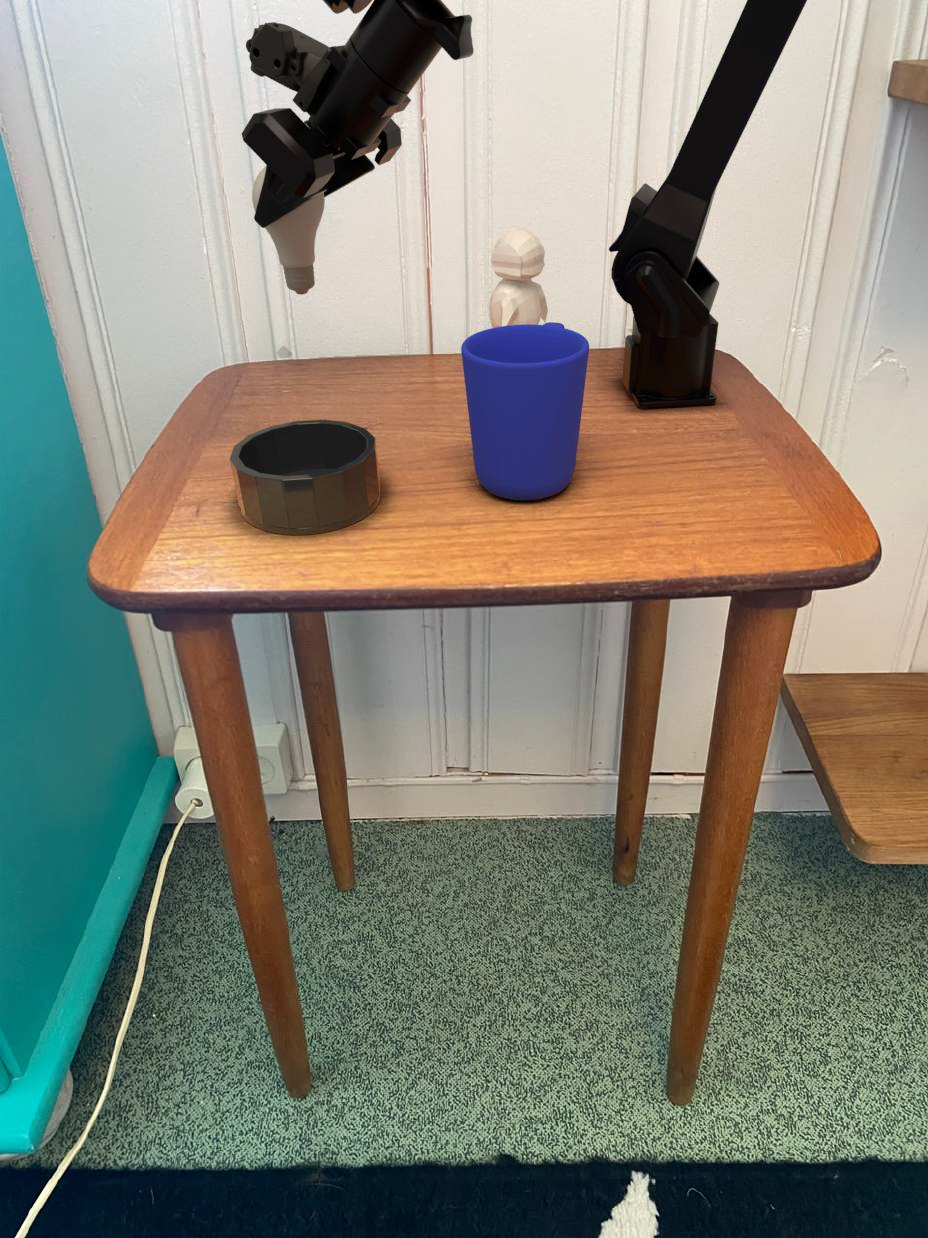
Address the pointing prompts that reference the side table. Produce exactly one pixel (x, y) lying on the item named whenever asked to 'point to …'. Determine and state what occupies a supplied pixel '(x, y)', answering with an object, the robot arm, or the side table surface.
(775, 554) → the side table surface
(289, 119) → the robot arm
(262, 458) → the bowl
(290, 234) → the lightbulb
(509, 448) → the mug
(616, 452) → the side table surface
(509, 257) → the figurine
